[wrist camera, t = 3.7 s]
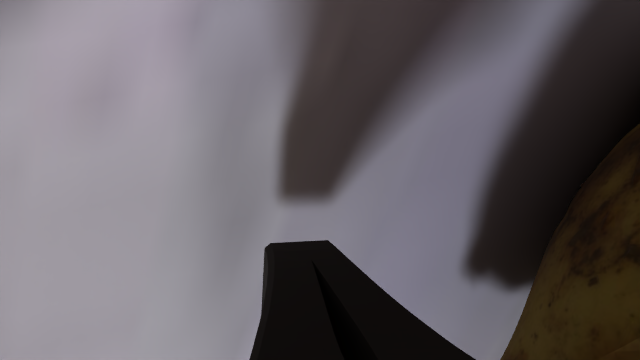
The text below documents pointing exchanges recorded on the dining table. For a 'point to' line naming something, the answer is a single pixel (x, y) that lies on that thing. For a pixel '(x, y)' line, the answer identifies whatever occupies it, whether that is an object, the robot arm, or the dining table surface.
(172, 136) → the dining table surface
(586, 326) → the potato
